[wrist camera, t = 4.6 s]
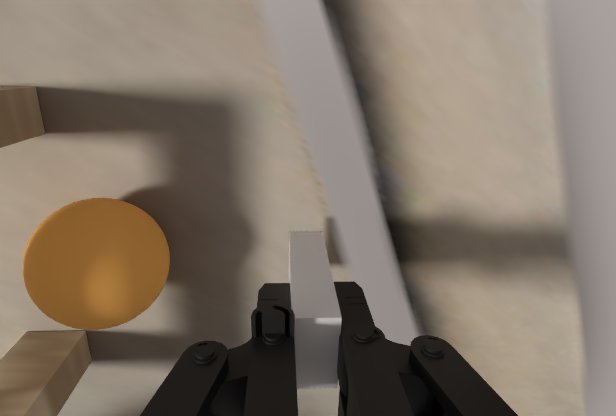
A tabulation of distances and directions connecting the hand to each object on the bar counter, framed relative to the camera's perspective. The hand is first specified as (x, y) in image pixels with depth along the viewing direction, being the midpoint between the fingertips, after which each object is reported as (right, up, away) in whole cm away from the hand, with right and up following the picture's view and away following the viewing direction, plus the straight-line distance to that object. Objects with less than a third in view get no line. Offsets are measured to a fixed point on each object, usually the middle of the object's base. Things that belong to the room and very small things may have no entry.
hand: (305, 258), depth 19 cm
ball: (-9, 0, -1) cm, 9 cm away
